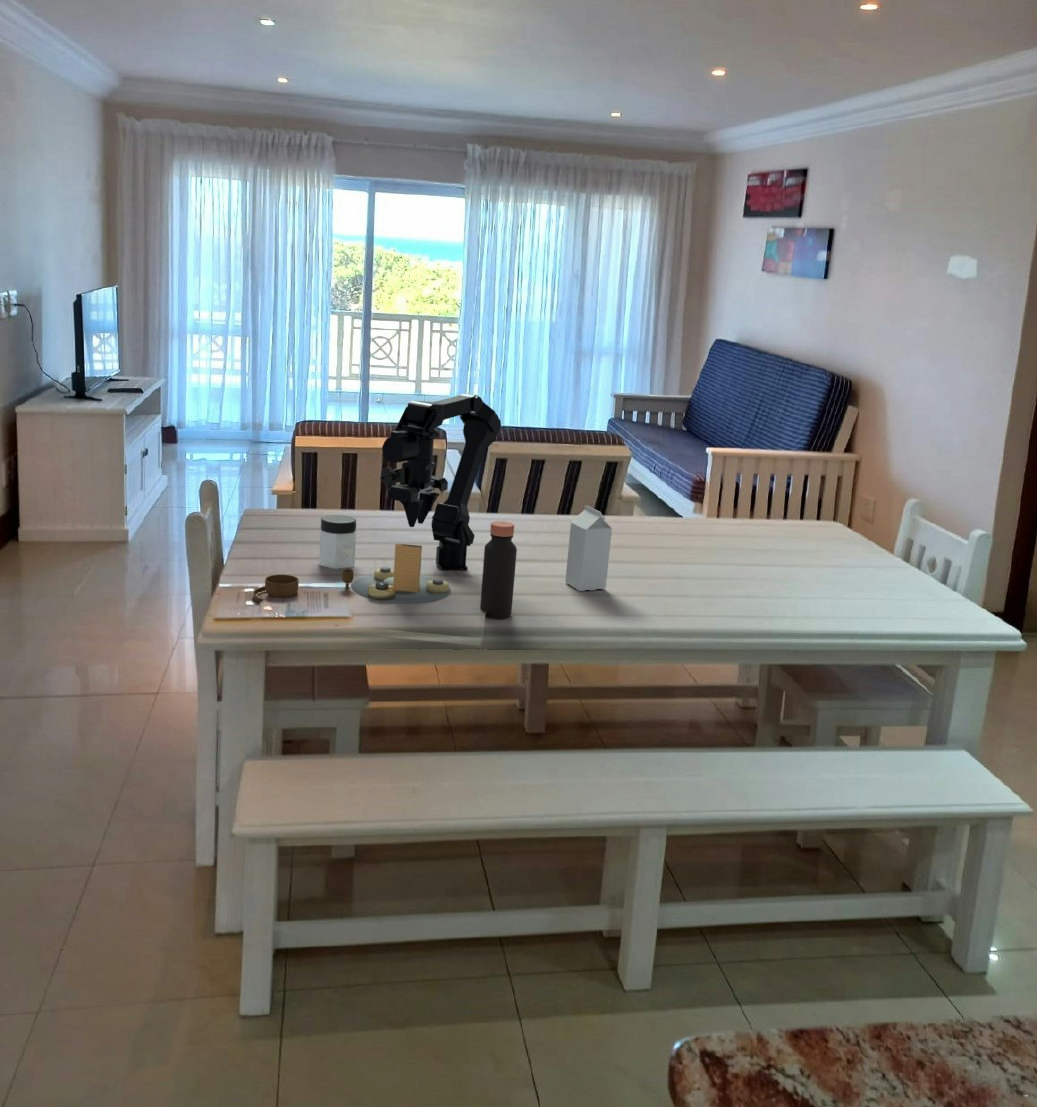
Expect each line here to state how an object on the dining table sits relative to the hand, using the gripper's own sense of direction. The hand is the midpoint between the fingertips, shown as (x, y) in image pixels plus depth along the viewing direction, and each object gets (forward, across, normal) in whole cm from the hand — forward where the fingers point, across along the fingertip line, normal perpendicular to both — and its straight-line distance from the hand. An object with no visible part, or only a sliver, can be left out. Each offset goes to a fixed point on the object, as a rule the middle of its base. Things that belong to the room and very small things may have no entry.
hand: (415, 525), depth 248 cm
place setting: (+14, +28, -12) cm, 33 cm away
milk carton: (+13, -21, +35) cm, 43 cm away
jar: (+13, +3, -19) cm, 23 cm away
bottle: (+13, +11, +26) cm, 32 cm away
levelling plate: (+13, +11, +3) cm, 17 cm away
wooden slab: (+12, +18, +5) cm, 22 cm away
